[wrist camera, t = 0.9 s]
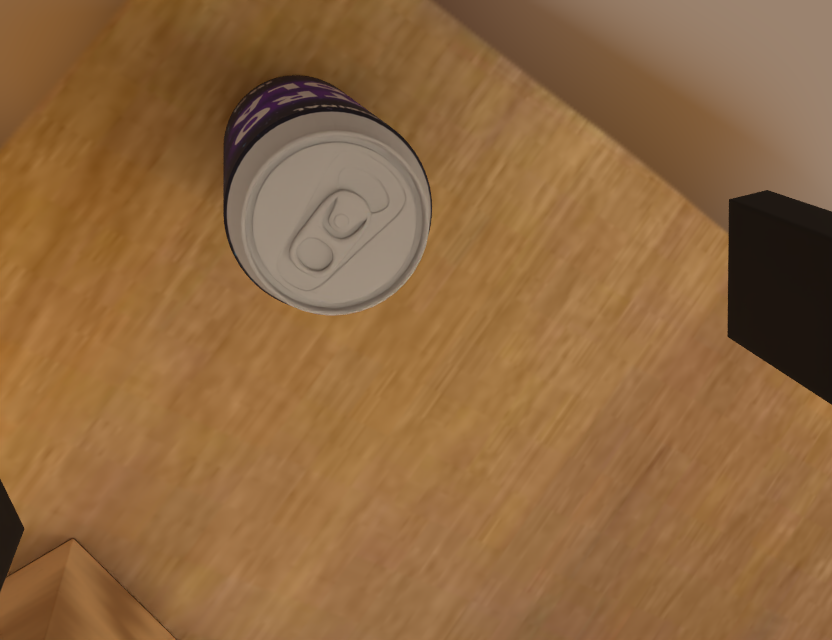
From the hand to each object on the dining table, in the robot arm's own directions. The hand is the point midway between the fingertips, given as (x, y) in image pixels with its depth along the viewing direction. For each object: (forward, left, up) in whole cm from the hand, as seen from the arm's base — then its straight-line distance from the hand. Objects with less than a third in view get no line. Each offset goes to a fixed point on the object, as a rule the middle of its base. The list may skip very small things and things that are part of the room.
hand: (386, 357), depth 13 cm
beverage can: (0, 0, -20) cm, 20 cm away
